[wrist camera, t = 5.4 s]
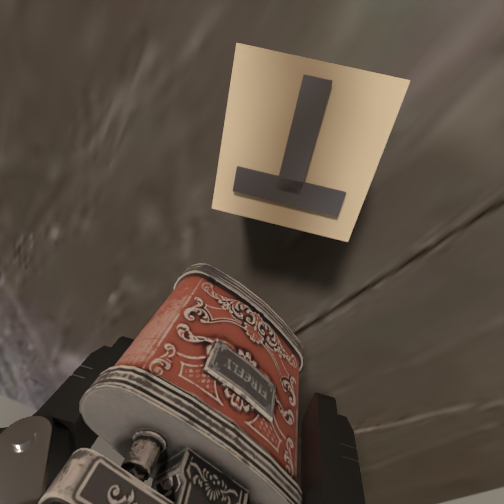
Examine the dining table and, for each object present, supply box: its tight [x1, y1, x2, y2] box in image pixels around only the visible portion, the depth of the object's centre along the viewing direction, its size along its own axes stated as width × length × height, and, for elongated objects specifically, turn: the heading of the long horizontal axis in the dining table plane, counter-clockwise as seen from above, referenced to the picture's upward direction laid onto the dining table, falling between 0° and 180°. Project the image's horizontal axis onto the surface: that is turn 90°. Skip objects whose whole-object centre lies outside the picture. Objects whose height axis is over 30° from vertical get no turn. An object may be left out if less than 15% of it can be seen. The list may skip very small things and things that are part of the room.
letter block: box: [212, 43, 411, 242], centre depth 13 cm, size 6×6×6 cm
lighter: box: [38, 263, 303, 504], centre depth 11 cm, size 8×3×10 cm, turn 47°
